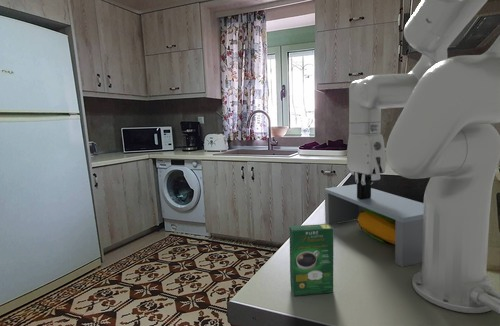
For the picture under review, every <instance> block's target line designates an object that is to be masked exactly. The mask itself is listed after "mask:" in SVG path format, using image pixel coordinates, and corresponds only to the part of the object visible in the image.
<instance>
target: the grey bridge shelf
mask: <svg viewBox="0 0 500 326" xmlns="http://www.w3.org/2000/svg"><path fill="white" fill-rule="evenodd" d="M365 209H367V208H365V207H362V206H359V205H357V204H354V203H352V202H349V201H347V200H344V199H342V198H339V197H337V196H334V195H332V194H329V193H327V192H325V191H324V217H325V218H324V219H325V222H324V224H329V225H333V224H339V223H345V222H350V221H355V220H356V221H358V216H359V214H360V212H361V211H363V210H365ZM394 245H395V246H394V248H395V250H394V255H395V256H394V263H395V264H396V265H398V266H399V267H401V268H404V267H409V266H412V265H417V264H420V263H421V264H422V247H423V219H419V220H414V221H409V222H404V223H402V222H400V221H397V220H396V228H395V244H394Z"/></svg>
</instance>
